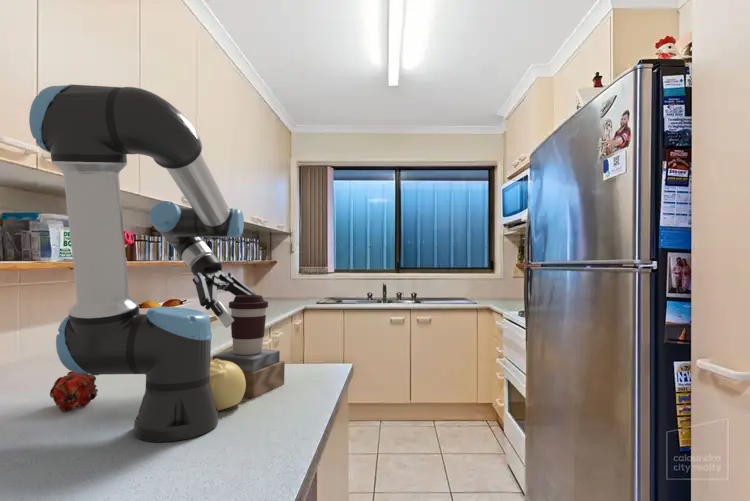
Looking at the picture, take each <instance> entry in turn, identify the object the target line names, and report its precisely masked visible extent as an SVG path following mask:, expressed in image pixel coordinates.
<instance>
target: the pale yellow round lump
mask: <svg viewBox="0 0 750 501" xmlns="http://www.w3.org/2000/svg"><path fill="white" fill-rule="evenodd" d="M210 388H211V391H212V395H213V398H214V403H215V406H216V407H217V410H218V412H219V411H222V410H225V409H229V408H232V407H235V406H237V405H238V404H239V403H240V402H241V401H242V400H243V398H244V397H243V396H244V393H245V388H246V381H245V376H244V374H243V372H242V370H241V369H240V367H239V366H238V365H236V364H235V363H233V362H230V361H224V360H219V359H214V360H213V359H210Z"/></svg>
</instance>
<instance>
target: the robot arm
mask: <svg viewBox="0 0 750 501" xmlns="http://www.w3.org/2000/svg"><path fill="white" fill-rule="evenodd" d="M28 119H29V121H28V122H29V128H30V129H29V130H30V134H31V136H32V137H33V139H35V143H36V145H37V146H38V147H39V148H40V149H42V150H43V151H45V152H47V153H49V154H50V159H51V164H52V165H54V166H55V167H56V168H57V169H58V170H60V171H61V172H62V175H63V181H64V182H63V183H64V192H65V201H66V211H67V212H66V213H67V220H68V229H69V238H70V246H71V256H72V258H71V259H72V266H73V276H74V284H75V294H76V302H75V303H74V304H73V305H72V306H71V307H70V309H69V310H68V316H66V317H65V318H64V319H63V320H62V321H61V323H60V324H59V326H58V329H57V331H58V332H59V334H56V338H55V347H56V348H55V349H56V353H57V356H58V359H59V361H60V363H61V364H62V365H63V366H64V368H65V369H67V370H68V371H69V372H71V371H72V372H74V373H79V374H89V375H94V376H100V375H101V376H102V375H145V391H144V395H143V398H142V400H141V403H140V406H139V409H138V410H139V411H138V414H137V415H136V417H135V419H134V423H133V435H134V436H135V437H136V438H138V439H139V440H142V441H145V442H154V443H155V442H156V443H158V442H159V443H161V442H162V443H166V442H176V441H183V440H187V439H191V438H192V439H193V438H196V437H199V436H202V435H204V434H206V433H209V432H210V431H212V430H214V429H215V428H216V427H217V426H218V423H219V411H218V410H217V407H216V406H215V403H214V398H213V395H212V391H211V388H210V360H211V355H212V354H211V351H212V349H211V348H212V347H211V346H212V345H211V344H212V337H213V335H212V330H211V325H212V324H211V323H212V322H211V319H210V317H209V315H208V314H207V313H205V312H203V311H201V310H198V309H192V308H187V307H178V306H177V307H176V306H154V307H150V308H149V309H148V310H147V312H146V313H142V314H141V313H140V305H139V301H138V300H137V299H135V298H134V297H132V296H131V295H130V292H129V291H130V288H129V280H128V278H129V276H128V269H127V268H128V265H127V254H126V253H127V252H126V244H125V231H124V220H123V219H124V217H123V210H122V208H123V206H122V197H121V184H120V173H121V171H122V170H124V169H125V167H126V166H127V165H128V158H127V156H128V155H142V156H147V157H150V158H152V159H153V161H154V162H155V163H156V164H157V165H158V166H160V167H161V168H164V169H166V170H167V172H168V174H169V175H170V177H171V178H172V179H173V181H174V182H175V184H176V185H177V187H178V188H179V190H180V191H181V193H182V194H183V196H184V198H185V199H186V200H187V203H188V205H190V206H191V207H180V206H179V205H177V204H176V203H174V202H172V201H170V200H162V201H159V202H157V203H155V204H154V205H153V206H152V207H151V209H150V210H149V214H148V218H149V221H150V224H152V225H153V227H154V229H155V230H156V231H157V232H158V233H160V234H161V235H162V237H163V238H165V240H166V241H167V242H168V243H169V244H170V245H171V247H172V248H173V249H174V250H175V252H176V253H177V254H178V255H179V257H180V258H181V259H182V261H183V262H184V263H185V265H186V266H187V267H188V269H189V270H190V271H191V273H192V274H193V276H194V277H193V278H192V281H193V283H194V285H195V289H196V292H197V296H198V301H199V304H200V306H201V307H203V308H204V309H205V310H207V311H209V310H211V311H212V312H213V313H214V315H215V316H216V317H217V318H218V320H219V321H220V322H221V323H222V325H223V326H224V327H225V328H226V329H227V328H229V327H231V324H232V322H233V321H234V319H233V318H232V316H231V313H229V311H228V310H227V308H226V307H225V305H223V303H222V302H221V301H220V300H218V301H217V295H218V293H217V292H218V291H219V290H220V291H224V292H229V293H230V294H232V295H234V297H235V296H238V295H257V293H256V292H254V290H252V289H251V288H250V287H248V286H247V285H246V284H245V283H244V282H242V281H241V280H240V279H238V278H237V277H236V275H235V274H234V273H233V272H231V271H229V272H228V273H224V272H223V263H222V262H221V261H220V260H219V259H218V257H217V256H216V255H215V253H214V252H213V251H212V249H211V248H210V247H209V245H208V244H207V243H206V242H205V241H204V240H203V239H202V238H224V239H228V238H239V237H241V236H242V234H243V233H244V227H245V221H244V220H245V219H244V214H243V211H242V210H241V209H238V208H233V207H231V208H230V207H229V205H228V204H227V202H226V200H225V198H224V196H223V194H222V192H221V190H220V188H219V186H218V184H217V181H216V180H215V178H214V176H213V174H212V172H211V170H210V168H209V166H208V164H207V161H206V160H205V158H204V156H203V154H202V152H203V143H202V140H201V138H200V136H199V134H198V131H197V130H196V128H195V127H194V125H193V124H192V123H191V122H190V120H188V118H187V117H186V116H185V115H184V114H182V112H181V111H180V110H179V109H177V108H176V107H175V106H174V105H172V104H171V103H170V102H169V101H168V100H166V99H164V98H162V97H161V96H159V95H158V94H156V93H153V92H151V91H149V90H146V89H143V88H139V87H133V86H124V87H123V86H107V85H106V86H104V85H91V84H89V85H87V84H86V85H85V84H72V83H71V84H66V85H51V86H47V87H45V88H43V89H41V91H39V93H38V94H37V95H36V96H35V97H34V99H33V100H32V103H31V105H30V109H29V117H28ZM265 315H266V316H267V314H266V313H265Z"/></svg>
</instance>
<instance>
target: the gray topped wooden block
mask: <svg viewBox="0 0 750 501" xmlns="http://www.w3.org/2000/svg"><path fill="white" fill-rule="evenodd" d="M280 358H281V356H280V350H276V349H263V348H262V352H261V353H259V354H255V355H236V354H234V353H233V349H232V350H229V351H225V352H222V353H218V354H215V355H212V360H214V359H219V360H224V361H230V362H233V363H235V364H236V365H238V366H239V367H240V369H241V370H242V372H243V374H244V376H245V381H246V388H245V393H244V396H243V398H246V399H256V398H258V397H261V395H264V394H266V393H269V392H271V391H272V390H275V389H277V388H278V387H281V386H284V384H285V370H286V369H285V367H286V366H285V365H286V364H285V362H286V361H284V360H283V361H282V360H280Z"/></svg>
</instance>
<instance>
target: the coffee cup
mask: <svg viewBox="0 0 750 501" xmlns="http://www.w3.org/2000/svg"><path fill="white" fill-rule="evenodd" d="M268 307H269V301H268V300H264V297H263V296H262V295H261V294H256V295H238V296H235V295H234V299H233V300H232V301H228V308H229V309H230V310H231V311H230V312H231V313H230V315H231V316H232V318H233V319H234V321H233V322H232V324H231V325H230V332H231V338H232V350H233V353H234V354H236V355H255V354H259V353H261V352H262V349H263V343H264V337H265V330H266V319H267V314H266V309H267V308H268ZM265 314H266V315H265Z"/></svg>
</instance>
